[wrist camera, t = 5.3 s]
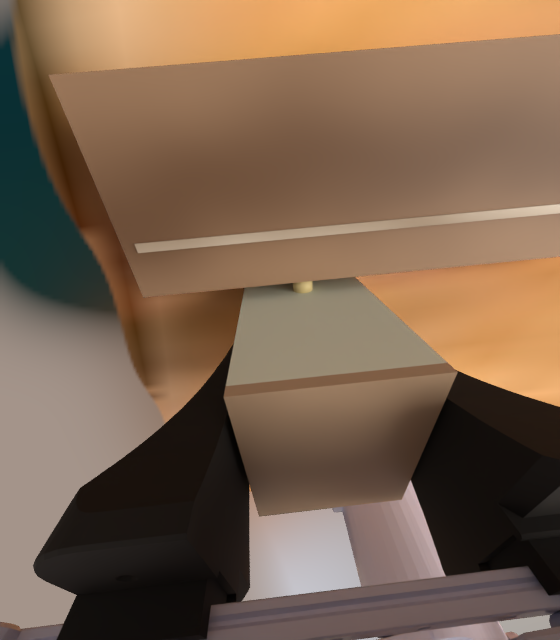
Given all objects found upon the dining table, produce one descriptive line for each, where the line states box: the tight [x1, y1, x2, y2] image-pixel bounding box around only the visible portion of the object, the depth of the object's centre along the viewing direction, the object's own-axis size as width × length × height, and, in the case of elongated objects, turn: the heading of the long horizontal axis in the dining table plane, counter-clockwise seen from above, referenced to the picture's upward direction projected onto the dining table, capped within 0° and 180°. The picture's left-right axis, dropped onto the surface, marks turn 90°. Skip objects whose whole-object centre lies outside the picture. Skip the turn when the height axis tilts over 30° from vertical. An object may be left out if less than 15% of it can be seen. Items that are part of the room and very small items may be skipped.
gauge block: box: [224, 277, 458, 516], centre depth 9 cm, size 6×5×7 cm
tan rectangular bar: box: [49, 34, 560, 298], centre depth 8 cm, size 6×20×3 cm, turn 94°
